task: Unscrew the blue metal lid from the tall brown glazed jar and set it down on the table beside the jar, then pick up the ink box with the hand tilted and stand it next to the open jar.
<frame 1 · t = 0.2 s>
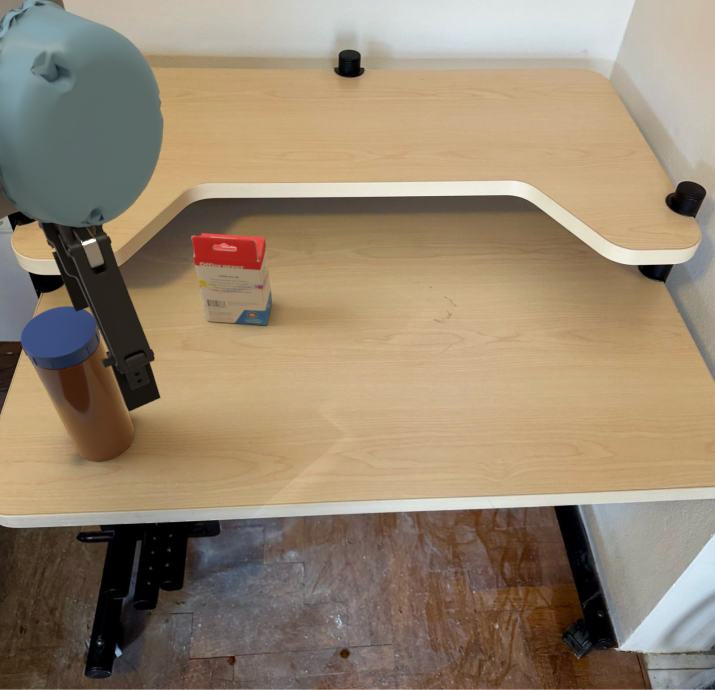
hand: (114, 350, 59), 22 cm above the table, tool pointing down, fingers open, 13 cm apart
ink box: (239, 313, 93), on the table
lid: (59, 333, 66), point 17 cm above the table, screwed on, not yet turned
jar: (104, 436, 78), on the table
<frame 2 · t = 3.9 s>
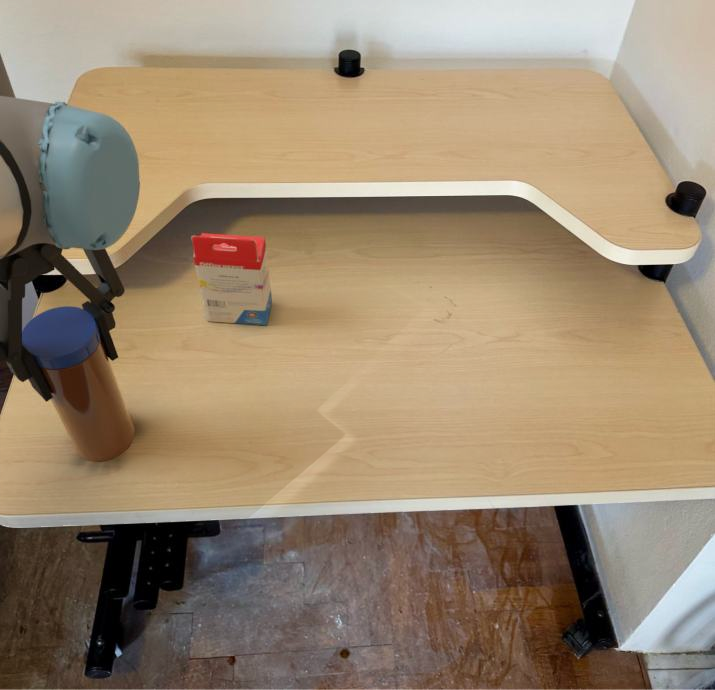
hand: (76, 371, 70), 12 cm above the table, tool pointing down, fingers closed on lid, 7 cm apart
lid: (59, 333, 66), point 17 cm above the table, screwed on, not yet turned, touching gripper
everything else where it was.
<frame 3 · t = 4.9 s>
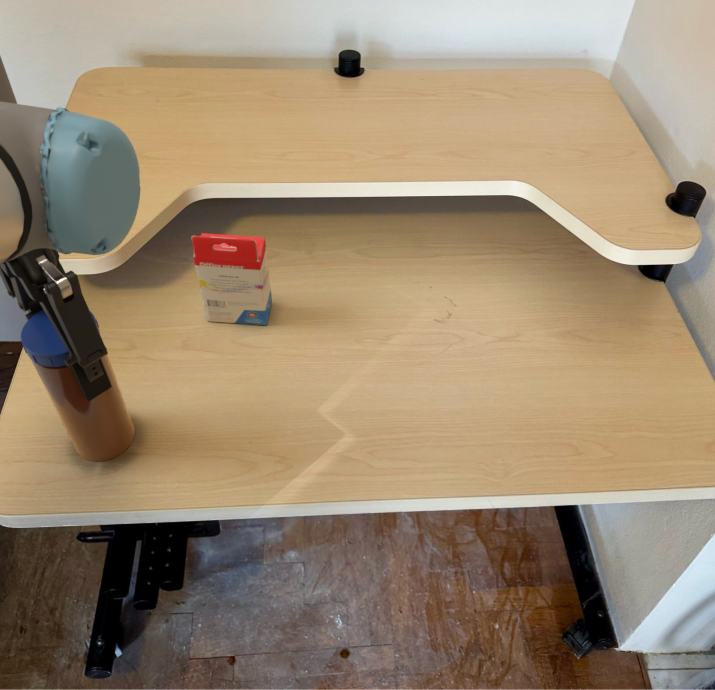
hand: (78, 371, 70), 12 cm above the table, tool pointing down, fingers closed on lid, 7 cm apart
lid: (59, 331, 65), point 18 cm above the table, turned 89° so far, risen 0.2 cm, still on its thread, touching gripper
jar: (104, 436, 78), on the table, touching gripper
everything else where it was.
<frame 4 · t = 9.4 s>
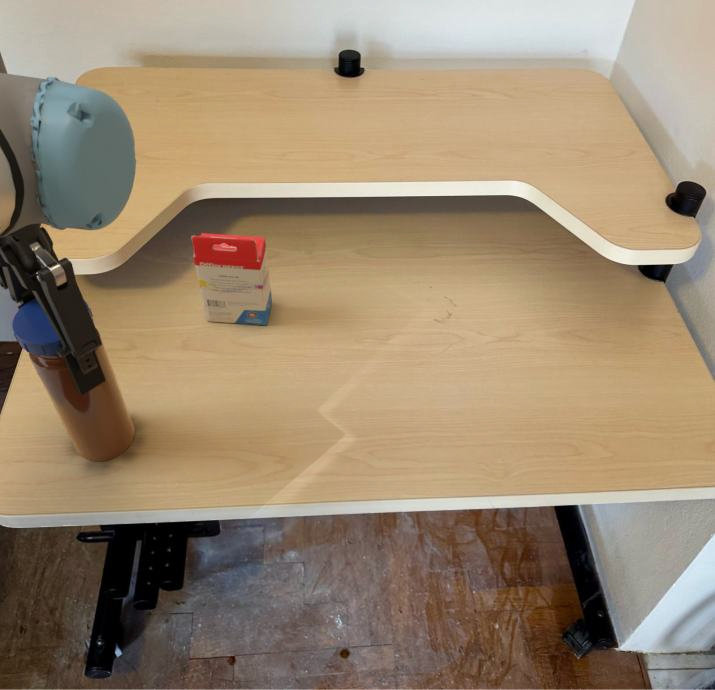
hand: (71, 365, 69), 13 cm above the table, tool pointing down, fingers closed on lid, 7 cm apart
lid: (52, 320, 64), point 20 cm above the table, off its thread, touching gripper
jar: (104, 436, 78), on the table
everything else where it was.
when the fingers open (1 cm above the table, at t = 16.3 s): lid drops 7 cm, point 1 cm above the table.
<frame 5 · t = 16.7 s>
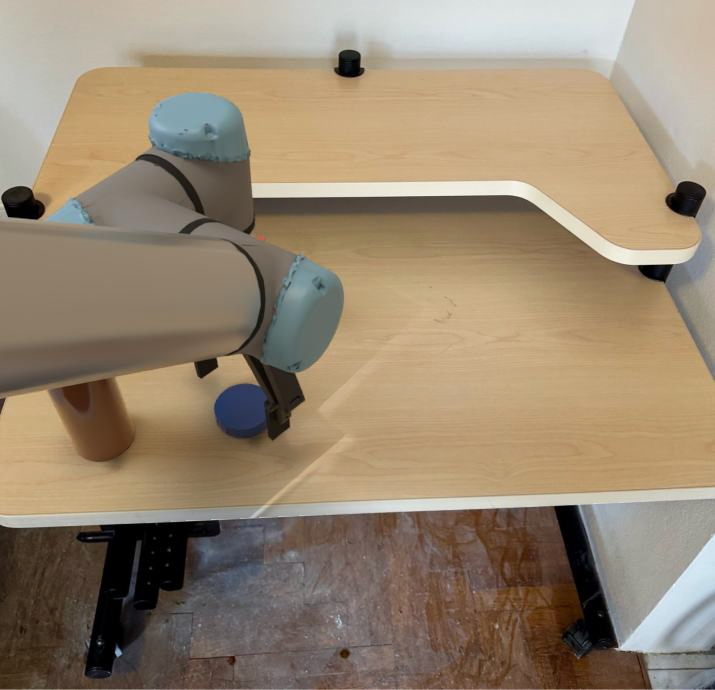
hand: (242, 400, 79), 3 cm above the table, tool pointing down, fingers open, 12 cm apart
lid: (243, 407, 80), point 1 cm above the table, off its thread
everything else where it was.
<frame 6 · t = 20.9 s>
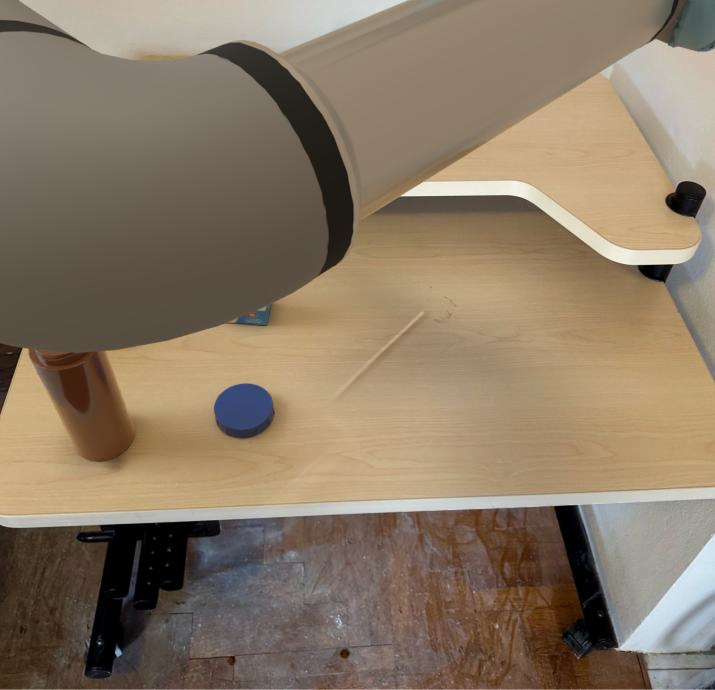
hand: (304, 170, 74), 24 cm above the table, tool tilted 45°, fingers open, 13 cm apart
nothing on the table moved.
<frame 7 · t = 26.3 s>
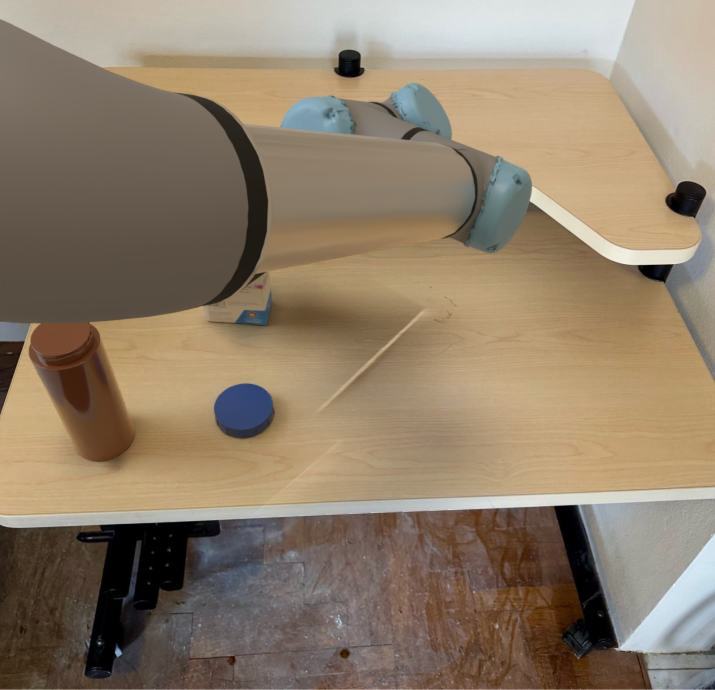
hand: (208, 280, 89), 5 cm above the table, tool tilted 45°, fingers closed on ink box, 5 cm apart
ink box: (239, 313, 93), on the table, touching gripper
everything else where it was.
when the fingers open (5 cm above the table, at t = 33.2 s): ink box stays where it is, on the table.
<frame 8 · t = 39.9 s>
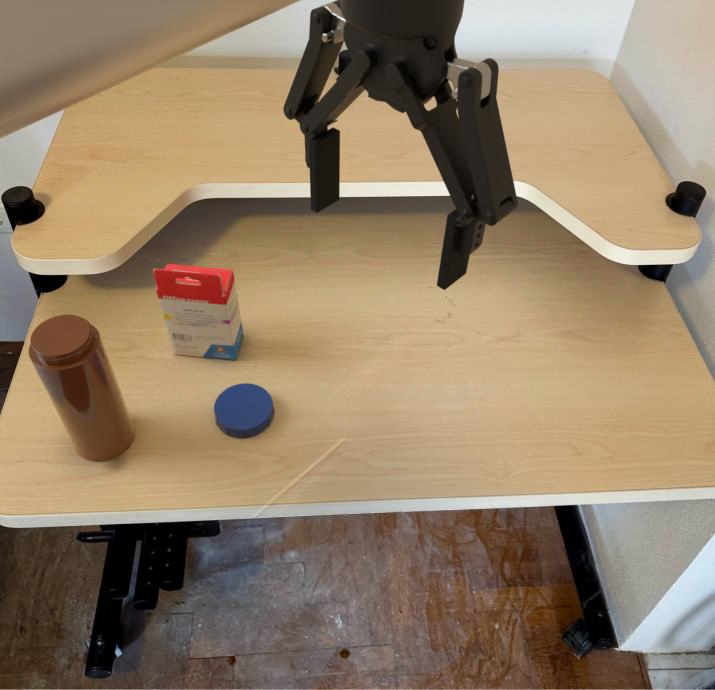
hand: (384, 240, 54), 32 cm above the table, tool pointing down, fingers open, 13 cm apart
ink box: (209, 345, 89), on the table
everything else where it was.
at the end: lid inside the target area (0.0 cm from its centre), point 1.3 cm above the table; the gripper is holding nothing; ink box inside the target area on the table beside the jar (0.2 cm from its centre), on the table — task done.
